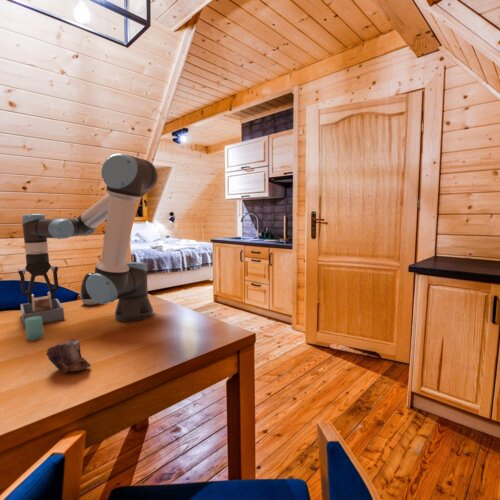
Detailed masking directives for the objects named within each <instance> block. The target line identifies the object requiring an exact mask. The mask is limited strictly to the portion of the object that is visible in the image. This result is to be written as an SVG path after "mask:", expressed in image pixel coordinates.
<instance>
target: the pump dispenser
mask: <svg viewBox="0 0 500 500" xmlns="http://www.w3.org/2000/svg"><path fill="white" fill-rule="evenodd" d="M94 273H95V272H87V273H86V274H85V275H84V277H83V279H82V282H81V285H80V288H79V289H80V290H79V299H80V300H81V301H82V303H83V304H84V305H87V306H94V305H98V304H99V303H98V302H96V301H94V300H93V299H92V298H91V297H90V295H89V294H88V292H87V290H86V281H87V279H88V277H90V276H91V275H92V274H94Z"/></svg>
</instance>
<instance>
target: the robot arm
mask: <svg viewBox="0 0 500 500" xmlns="http://www.w3.org/2000/svg"><path fill="white" fill-rule="evenodd" d="M157 170H158V169H157V168H156V167H155V165H154V164H153V163H152V162H150V161H149V160H147V159H145V158H139V157H136V156H133V155H130V154H125V153H115V154H112V155H111V156H109V157H107V158H106V159H105V161H104V162H103V164H102V165H101V171H100V172H101V173H100V175H101V179H103V182H104V184H105V185H106V190H105V191H106V192H107V194H106V195H104V196H103V197H102V198H101V199H99V200H98V201H97V202H96V203H94V204H93V205H92V206H90V207H89V208H88V209H86V210H84V211H83V212H82V213H81V214H79V216H77V217H75V218H74V217H73V218H71V217H70V218H46V216H45V214H44V213H28V214H27V213H26V214H23V215H22V217H21V219H22V220H21V222H22V224H21V226H22V232H23V240H24V241H23V243H24V251H25V253H26V255H25V260H26V261H25V263H26V266H25V267H24V268H21V269H18V270H17V272H18V275H19V276H20V278H19V279H20V286H21V287H20V289H21V294H22V295H23V296H26V297H27V303H29V304H30V303H32V308H33V312H34V311H35V303H34V298H35V295H34V294H33V291H34V290H33V289H34V284H35V279H36V277H39V276H42V277H43V278H44V280H45V281H44V282H45V283H46V285H47V287H48V290H49V291H48V292H47V296H48V297H49V301H50V309H52V302H51V300H54V299H55V292H56V291H59V289H60V287H59V280H58V271H59V267H58V266H57V265H51V263H50V257H49V253H48V251H49V247H48V246H49V245H48V239H57V240H61V239H70V238H72V237H81V236H83V237H84V236H85V237H86V236H89V235H93V234H94V233H95V232H96V230H97V227H98V226H99V225H101V224H102V223H104V222H105V221H106V224H105V228H104V229H105V230H104V235H103V237H104V238H103V244H102V251H101V258H100V261H98V262H96V264H95V267H94V272H93V273H94V274H92V275H91V276H90V277H88V279H87V281H86V290H87V292H88V294H89V295H90V297H91V298H92V299H93V300H94V301H96V302H98V304H100V305H101V304H102V305H103V304H104V305H105V304H109V303H113V302H115V301H117V304H116V308H115V311H114V319H115V320H116V321H119V322H125V323H126V322H128V323H129V322H139V321H142V320H145V319H149V318H150V317H152V316H153V315H154V308H153V306H152V304H151V303H152V302H151V300H150V299H149V294H148V293H149V292H148V291H149V289H148V270H147V265H146V263H145V262H138V261H136V262H135V261H133V262H132V261H130V262H129V261H127V258H128V253H129V247H130V241H131V240H130V239H131V234H132V227H133V221H134V215H135V209H136V203H137V201H138V200H139V199H141V198H142V197H144V196H145V195H147V194H148V193H149V192H150V191H151V190H153V189H154V187H156V184H157V183H158V178H159V173H158V171H157ZM50 269H51V271H52V276H53V277H52V278H53V285H52V283H51V281H50V278H49V276H48V272H49V270H50ZM26 272H28V273H29V274H30V281H29V283H28V284H29V285H28V289H27V290H26V281H25V280H26V279H25V275H26Z"/></svg>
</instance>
